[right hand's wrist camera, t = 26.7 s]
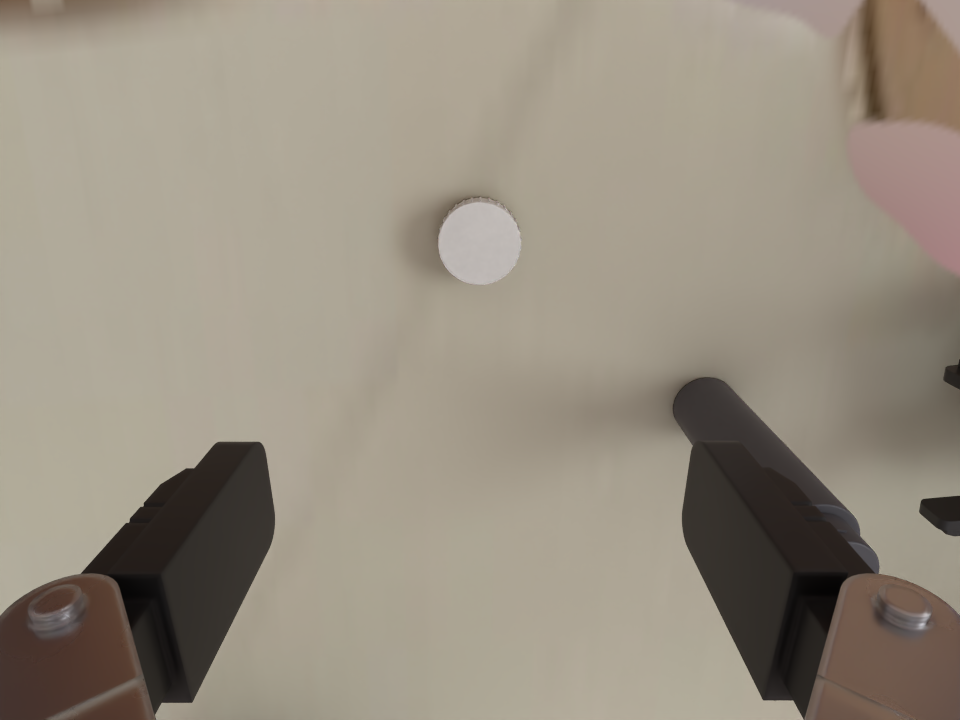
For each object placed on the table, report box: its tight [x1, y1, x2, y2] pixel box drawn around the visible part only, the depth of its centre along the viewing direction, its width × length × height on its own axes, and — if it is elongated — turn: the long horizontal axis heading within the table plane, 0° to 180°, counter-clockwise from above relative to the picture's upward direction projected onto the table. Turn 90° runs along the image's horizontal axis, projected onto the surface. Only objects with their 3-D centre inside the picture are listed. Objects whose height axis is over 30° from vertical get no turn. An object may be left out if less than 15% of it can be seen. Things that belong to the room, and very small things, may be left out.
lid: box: [437, 196, 522, 285], centre depth 35 cm, size 5×5×2 cm
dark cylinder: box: [673, 378, 879, 574], centre depth 33 cm, size 4×4×16 cm
